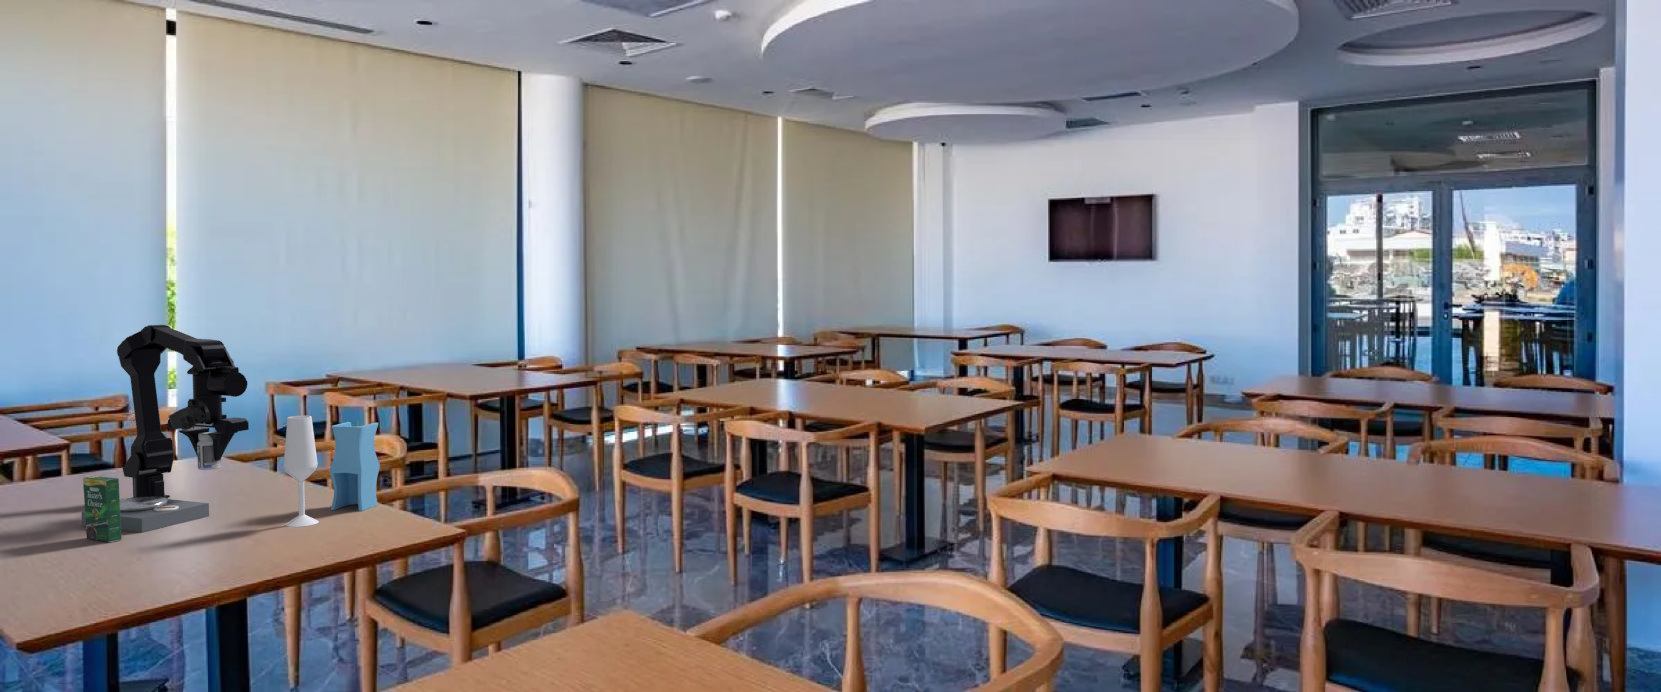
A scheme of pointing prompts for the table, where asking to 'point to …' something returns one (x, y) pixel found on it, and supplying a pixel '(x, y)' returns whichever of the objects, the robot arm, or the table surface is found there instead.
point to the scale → (161, 515)
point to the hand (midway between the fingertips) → (209, 459)
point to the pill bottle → (206, 453)
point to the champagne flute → (300, 461)
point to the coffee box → (102, 508)
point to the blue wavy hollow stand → (354, 466)
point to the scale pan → (141, 503)
